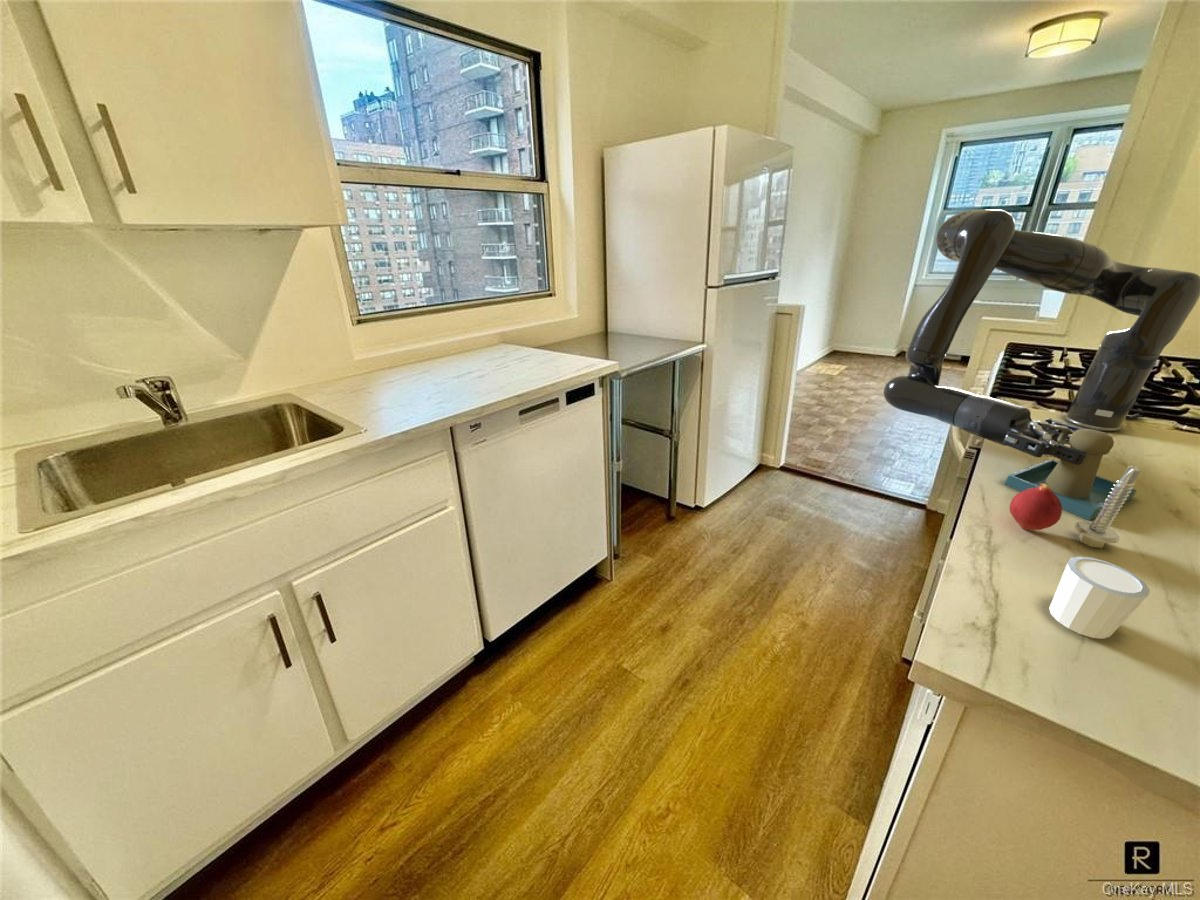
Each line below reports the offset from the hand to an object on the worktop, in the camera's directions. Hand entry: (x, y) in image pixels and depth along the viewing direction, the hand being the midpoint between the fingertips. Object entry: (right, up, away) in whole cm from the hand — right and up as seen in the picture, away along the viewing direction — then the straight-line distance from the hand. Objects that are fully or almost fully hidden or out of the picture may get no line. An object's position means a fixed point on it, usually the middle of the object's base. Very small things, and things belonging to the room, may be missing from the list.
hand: (1097, 454), depth 79 cm
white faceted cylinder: (-24, -20, -21) cm, 38 cm away
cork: (-1, -6, +5) cm, 8 cm away
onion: (-16, -12, -5) cm, 21 cm away
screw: (-9, -13, -8) cm, 18 cm away
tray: (-1, -7, +5) cm, 8 cm away
